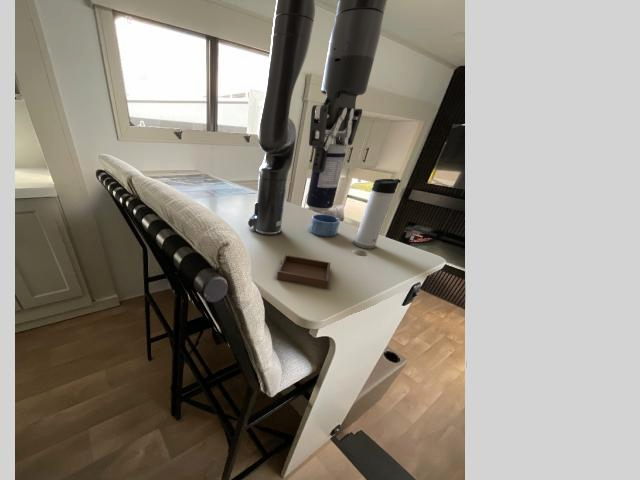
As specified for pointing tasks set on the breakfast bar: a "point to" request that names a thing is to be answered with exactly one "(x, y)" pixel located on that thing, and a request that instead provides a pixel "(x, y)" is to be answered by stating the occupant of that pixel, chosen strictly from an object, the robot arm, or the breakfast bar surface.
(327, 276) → the tray
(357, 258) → the breakfast bar surface
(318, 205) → the beverage can
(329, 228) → the bowl
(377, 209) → the travel mug
